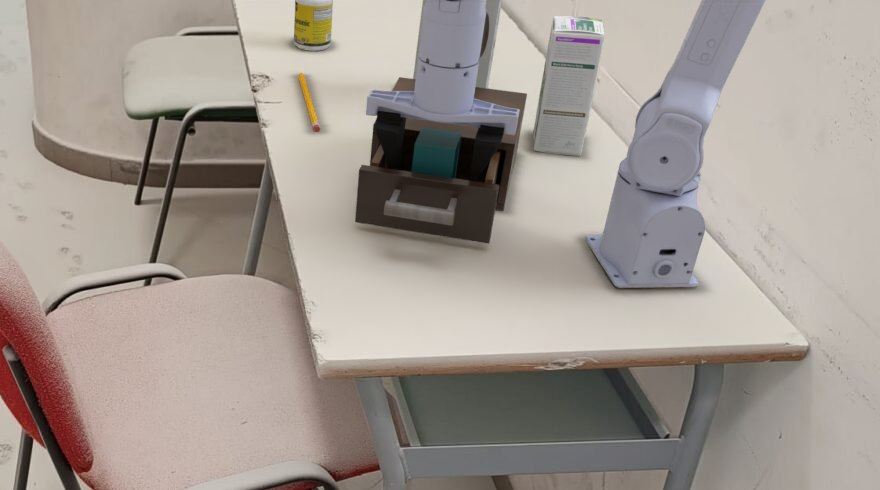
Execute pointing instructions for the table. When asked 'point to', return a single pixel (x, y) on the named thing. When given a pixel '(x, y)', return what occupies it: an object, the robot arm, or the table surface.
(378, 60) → the table surface
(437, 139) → the teal rectangular block
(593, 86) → the syrup box
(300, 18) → the supplement bottle
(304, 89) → the pencil
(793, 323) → the table surface
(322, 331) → the table surface
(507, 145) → the cabinet
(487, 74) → the supplement box
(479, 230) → the drawer
